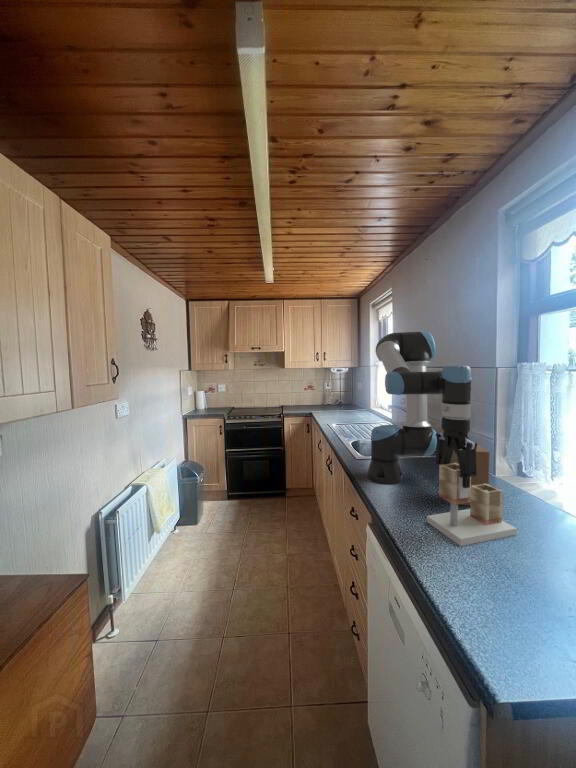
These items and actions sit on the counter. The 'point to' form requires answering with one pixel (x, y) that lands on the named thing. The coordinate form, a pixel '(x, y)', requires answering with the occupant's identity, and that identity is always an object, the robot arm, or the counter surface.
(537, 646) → the counter surface
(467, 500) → the sleeve
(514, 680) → the counter surface
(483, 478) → the wooden block
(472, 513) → the sleeve seated
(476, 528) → the pin board
